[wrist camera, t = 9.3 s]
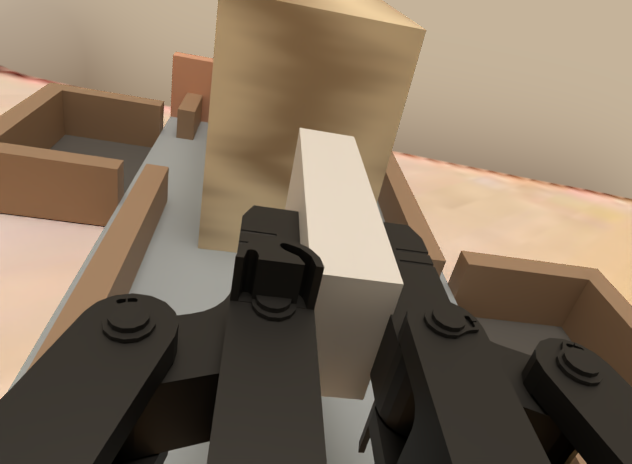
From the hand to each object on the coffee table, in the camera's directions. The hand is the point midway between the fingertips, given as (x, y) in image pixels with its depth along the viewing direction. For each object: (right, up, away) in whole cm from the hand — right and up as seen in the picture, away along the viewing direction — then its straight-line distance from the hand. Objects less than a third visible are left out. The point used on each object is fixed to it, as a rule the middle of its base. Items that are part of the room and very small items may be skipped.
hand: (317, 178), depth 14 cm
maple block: (-2, +1, +14) cm, 14 cm away
